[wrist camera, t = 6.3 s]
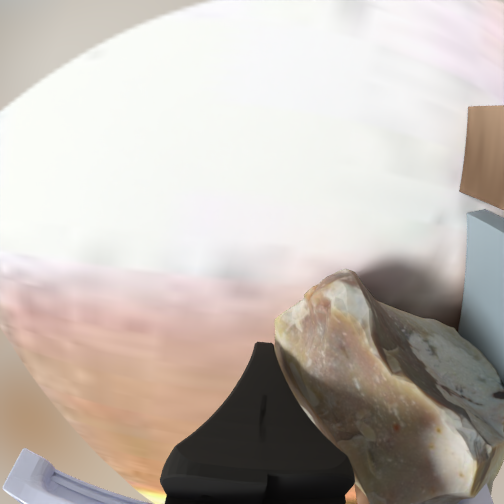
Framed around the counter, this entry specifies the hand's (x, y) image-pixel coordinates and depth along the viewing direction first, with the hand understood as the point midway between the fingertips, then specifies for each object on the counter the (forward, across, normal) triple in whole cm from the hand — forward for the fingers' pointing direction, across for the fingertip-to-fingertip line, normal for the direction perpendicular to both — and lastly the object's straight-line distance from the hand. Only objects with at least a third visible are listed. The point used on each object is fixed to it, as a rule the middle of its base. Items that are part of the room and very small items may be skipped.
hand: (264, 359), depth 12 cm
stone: (-4, -11, 0) cm, 11 cm away
